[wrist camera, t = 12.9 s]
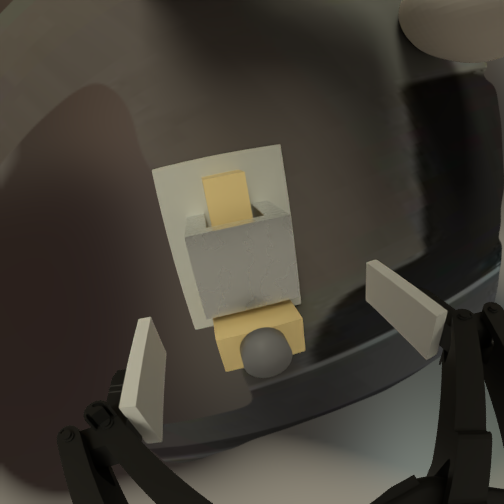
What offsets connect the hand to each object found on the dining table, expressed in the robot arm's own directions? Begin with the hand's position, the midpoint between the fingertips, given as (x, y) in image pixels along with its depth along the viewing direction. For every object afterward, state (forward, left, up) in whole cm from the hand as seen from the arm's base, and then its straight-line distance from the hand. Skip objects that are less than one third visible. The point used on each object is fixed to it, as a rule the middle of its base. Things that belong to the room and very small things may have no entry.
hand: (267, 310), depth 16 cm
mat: (+1, 0, -17) cm, 17 cm away
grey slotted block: (+1, 0, -17) cm, 17 cm away
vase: (-26, +32, -18) cm, 45 cm away
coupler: (+1, 0, -17) cm, 17 cm away
